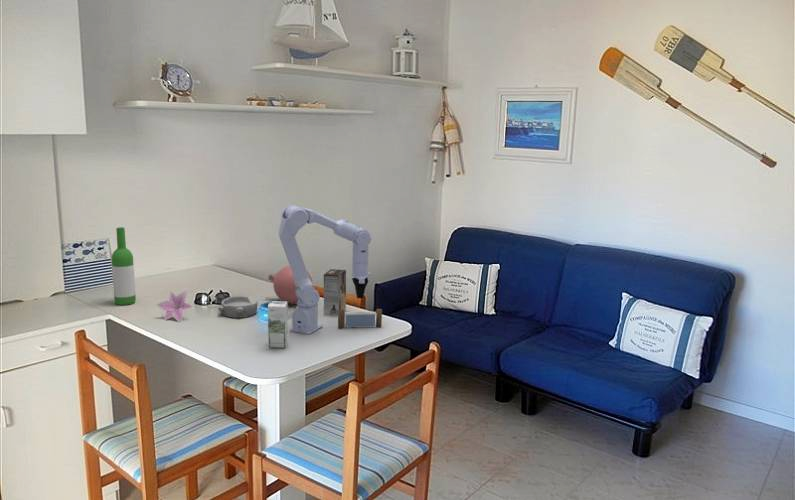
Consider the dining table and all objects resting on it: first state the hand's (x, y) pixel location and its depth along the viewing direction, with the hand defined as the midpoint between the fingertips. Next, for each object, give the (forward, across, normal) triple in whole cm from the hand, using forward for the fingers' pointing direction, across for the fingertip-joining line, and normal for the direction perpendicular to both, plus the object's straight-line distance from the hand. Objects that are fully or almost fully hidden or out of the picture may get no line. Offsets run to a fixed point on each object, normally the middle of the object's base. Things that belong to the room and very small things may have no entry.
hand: (359, 297), depth 234 cm
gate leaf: (+9, -5, 0) cm, 10 cm away
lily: (+10, +9, +67) cm, 68 cm away
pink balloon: (+10, +28, +26) cm, 39 cm away
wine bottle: (+10, +30, +90) cm, 95 cm away
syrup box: (+10, -22, +28) cm, 37 cm away
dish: (+10, +14, +45) cm, 48 cm away
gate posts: (+9, -5, 0) cm, 11 cm away
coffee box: (+10, +13, +8) cm, 18 cm away
